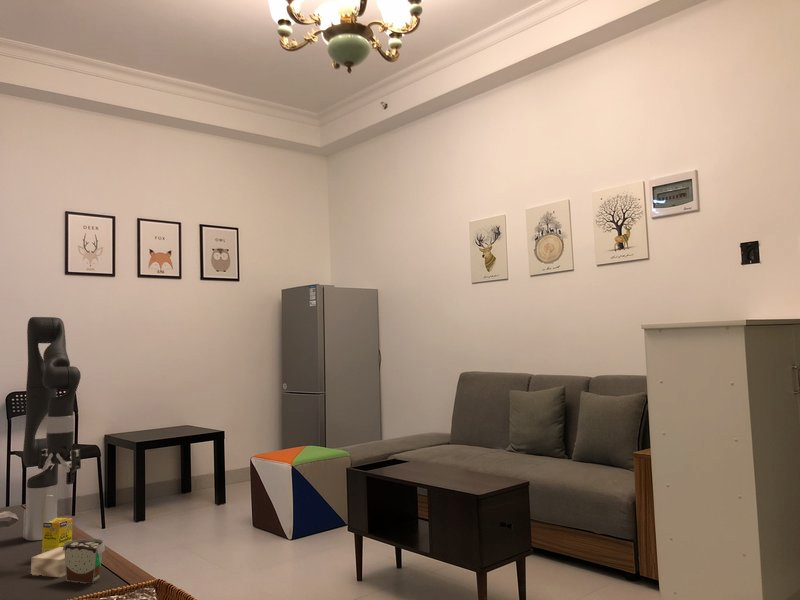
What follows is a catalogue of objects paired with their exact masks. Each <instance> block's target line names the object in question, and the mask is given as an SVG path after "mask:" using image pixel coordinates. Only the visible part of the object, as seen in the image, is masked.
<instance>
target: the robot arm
mask: <svg viewBox="0 0 800 600" xmlns="http://www.w3.org/2000/svg"><path fill="white" fill-rule="evenodd" d="M26 327H27V329H26V337H27V340H26V341H27V342H26V343H27V372H26V373H27V374H26V386H25V387H26V388H25V389H26V390H25V427H24V437H23V439H24V440H23V450H22V461H23V465H24V466H25V467H26V468H31V467H32V468H33V467H37V468H38V470H40V469H41V470H42V471H41V472H39V473H38V474H35V475H33V476H30V477H29V478H28V479H27V481H26V506H25V507H26V508H25V509H23V526H22V527H23V528H22V530H23V532H22V539H25V540H26V541H42V540H43V522H47V521H49V520H52V519H55V518H58V490H59V487H58V484H59V482H58V480H59V479H58V478H59V465H62V467H64V468H65V470H66V474H65V475H66V477H65V478H66V480H65V482H66V483H65V484H66V485H69V486H70V485H73V484H74V482H75V481H76V480H75V479H76V478H75V477H76V476H75V475H76V471H77V470H80V469H81V467H82V466H81V465H82V464H81V463H82V462H81V449H80V448H79V449H74V450H73V449H72V446H73V445H74V435H75V422H74V406H75V405H74V403H75V398H76V397H75V396H76V393H77V390H78V387H79V385H80V381H81V376H82V375H81V371H80V369H79V368H78V367H77V366H71V361H70V359H69V356H68V351H67V342H66V341H67V340H66V330H65V329H66V328H65V323H64V321H63V320H62V318H60V317H56V316H55V317H54V316H52V317H51V316H49V317H48V316H32V317H30V318H29V319H28V321H27V326H26ZM39 344H48V346H47V347H46V348H45V350H44V352H43V356H42V354H41V351H40V348H39ZM58 390H66V391H65V393H64V394H62V395H57V391H58ZM46 416H47V421H46V433H45V434H46V435H45V438H42V437H41V438H36V435H37V432H38V429H39V426H41V423H42V422H43V420H44V419H45V417H46Z"/></svg>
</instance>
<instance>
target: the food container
mask: <svg viewBox="0 0 800 600" xmlns="http://www.w3.org/2000/svg"><path fill="white" fill-rule="evenodd" d="M64 550H65V569H66V575H65V581H66V582H70V581H71V582H72V583H78V582H80V584H86V583H95V582H97V581H98V580H99V581H100V576H101V575H100V574H101V567H102V566H101V565H102V557H103V552H105V550H106V546H105V543H104V541H103V540H102V539H99V538H81V539H75V540H72V541H70V542H66V543H64V546H63V551H64ZM99 581H98V582H99ZM71 582H70V583H71ZM98 582H97V583H98ZM95 584H96V583H95Z"/></svg>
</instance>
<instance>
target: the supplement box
mask: <svg viewBox="0 0 800 600" xmlns="http://www.w3.org/2000/svg"><path fill="white" fill-rule="evenodd" d="M41 541H42V542H41V543H42V544H41V554H42V553H45V552H47V551H50V550H52V549H55V548H58V547H63V546H64V543H66V542H70V541H73V518H72V517H71V518H70V517H57V518H55V519H52V520H49V521H47V522H43V540H41Z"/></svg>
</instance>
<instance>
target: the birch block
mask: <svg viewBox="0 0 800 600" xmlns="http://www.w3.org/2000/svg"><path fill="white" fill-rule="evenodd" d="M30 559H31V560H30V561H31V562H30V565H31V566H30V575H31V574H32V575H31V576H39V575H42V576H41V577H53V578H62V577H64V576H66V569H65V550H64V551H63V547H58V548H55V549H52V550H50V551H47V552H45V553H42V552H41V553H40V554H39V553H38V554H37V555H34V556H32V557H31V558H30Z"/></svg>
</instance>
